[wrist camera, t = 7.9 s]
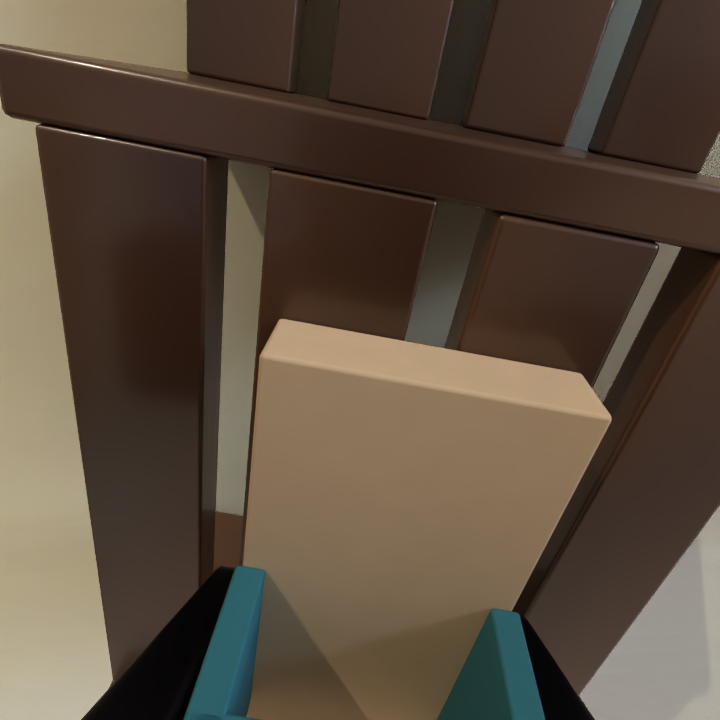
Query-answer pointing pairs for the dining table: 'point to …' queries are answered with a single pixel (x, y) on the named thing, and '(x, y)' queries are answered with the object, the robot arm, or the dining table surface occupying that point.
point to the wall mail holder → (393, 531)
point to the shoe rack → (388, 265)
